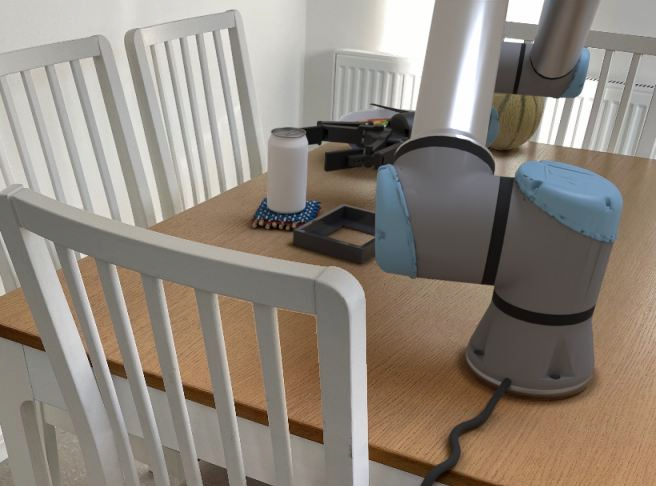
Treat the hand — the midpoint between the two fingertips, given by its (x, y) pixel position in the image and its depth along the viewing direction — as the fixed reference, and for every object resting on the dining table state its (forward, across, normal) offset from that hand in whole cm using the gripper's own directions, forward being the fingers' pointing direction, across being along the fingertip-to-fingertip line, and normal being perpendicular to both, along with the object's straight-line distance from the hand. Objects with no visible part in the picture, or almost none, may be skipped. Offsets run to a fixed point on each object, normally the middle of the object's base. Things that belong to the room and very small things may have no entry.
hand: (305, 150), depth 133 cm
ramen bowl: (-30, +20, -11) cm, 38 cm away
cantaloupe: (-57, +19, -11) cm, 61 cm away
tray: (-3, -12, -11) cm, 16 cm away
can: (+3, 0, -9) cm, 10 cm away
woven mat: (+3, 0, -11) cm, 12 cm away
